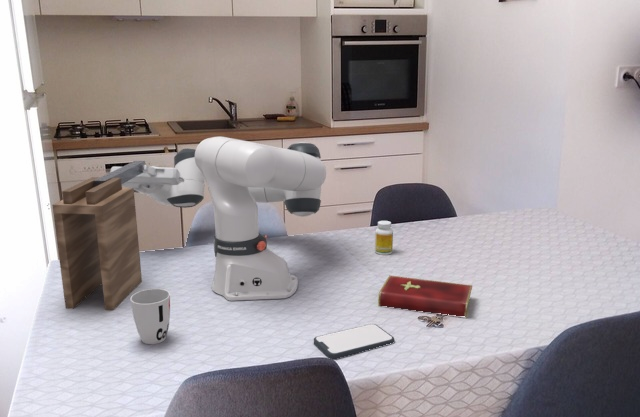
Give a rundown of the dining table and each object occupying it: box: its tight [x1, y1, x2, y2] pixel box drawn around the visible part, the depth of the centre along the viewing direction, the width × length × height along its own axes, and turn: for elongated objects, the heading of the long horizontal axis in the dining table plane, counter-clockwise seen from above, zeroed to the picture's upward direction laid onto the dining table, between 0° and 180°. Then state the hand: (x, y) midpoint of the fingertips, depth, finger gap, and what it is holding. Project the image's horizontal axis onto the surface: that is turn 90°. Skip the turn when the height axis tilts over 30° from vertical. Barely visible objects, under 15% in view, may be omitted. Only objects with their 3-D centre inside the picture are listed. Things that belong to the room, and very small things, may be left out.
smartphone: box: [313, 323, 395, 360], centre depth 127 cm, size 9×2×16 cm
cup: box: [130, 288, 171, 345], centre depth 128 cm, size 8×8×10 cm
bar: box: [94, 160, 146, 187], centre depth 160 cm, size 3×26×3 cm, turn 174°
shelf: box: [52, 176, 143, 311], centre depth 148 cm, size 12×18×29 cm, turn 174°
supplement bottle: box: [374, 220, 394, 256], centre depth 181 cm, size 5×5×10 cm
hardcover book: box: [377, 275, 473, 318], centre depth 146 cm, size 12×21×4 cm, turn 71°
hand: (135, 167), depth 169 cm, fingers closed on bar, 3 cm apart
